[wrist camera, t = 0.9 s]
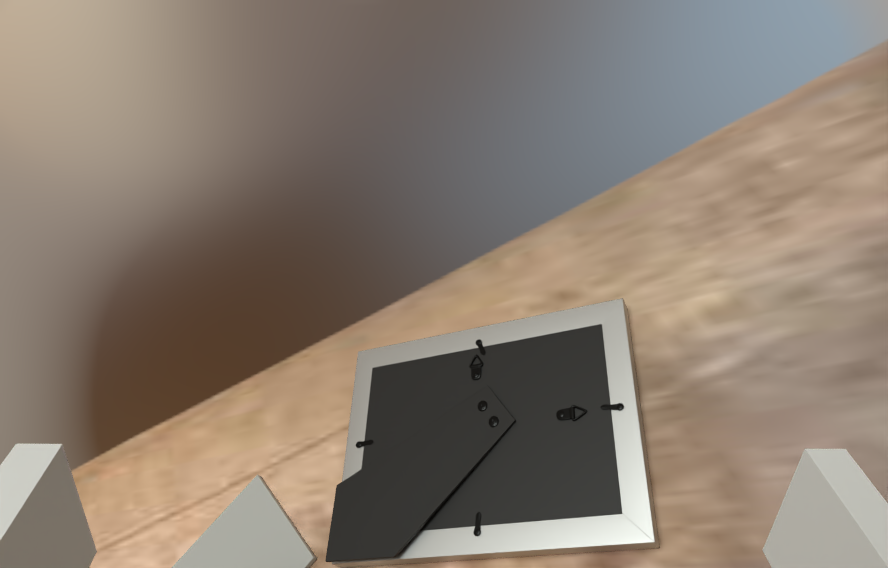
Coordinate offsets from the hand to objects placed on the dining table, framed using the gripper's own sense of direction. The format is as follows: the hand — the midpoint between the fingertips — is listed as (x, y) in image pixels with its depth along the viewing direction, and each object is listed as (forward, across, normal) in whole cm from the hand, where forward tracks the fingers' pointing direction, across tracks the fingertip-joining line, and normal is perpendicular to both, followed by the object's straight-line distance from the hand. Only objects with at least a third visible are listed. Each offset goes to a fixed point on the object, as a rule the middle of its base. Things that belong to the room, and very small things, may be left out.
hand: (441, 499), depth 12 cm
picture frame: (+26, +5, -23) cm, 35 cm away
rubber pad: (+23, -12, -33) cm, 42 cm away
